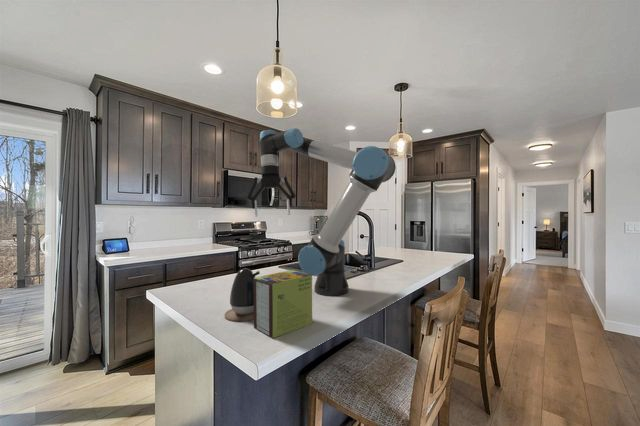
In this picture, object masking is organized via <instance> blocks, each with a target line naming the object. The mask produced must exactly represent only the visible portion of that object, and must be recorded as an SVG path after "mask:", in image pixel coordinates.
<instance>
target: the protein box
mask: <svg viewBox="0 0 640 426" xmlns="http://www.w3.org/2000/svg"><path fill="white" fill-rule="evenodd" d="M253 284H254V320H253V328H254V329H255V330H257V331H258V332H260V333H262V334H264V335H266V336H267V337H268V338H271V339H275V338H278V337H281V336H283V335H286V334H288V333H290V332H294V331H296V330H299V329H301V328H303V327H305V326H309V325H312V323H313V275H311V274H306V273H305V272H301V271H298V270H293V269H289V270H285V271H281V272H275V273H274V272H273V273H270V274H265V275H260V276H257V277H256V276H255V278H253Z"/></svg>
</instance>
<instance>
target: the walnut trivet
mask: <svg viewBox="0 0 640 426" xmlns="http://www.w3.org/2000/svg"><path fill="white" fill-rule="evenodd" d="M224 319H225V320H227V321H230V322H236V323H237V322H238V323H242V322H243V323H244V322H250V321H254V312H253V313H251V314H248V315H240V314H237V313H235V312H234V311H233V309H232V308H231V309H228V310H227V311H225V313H224Z"/></svg>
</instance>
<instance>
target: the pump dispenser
mask: <svg viewBox="0 0 640 426" xmlns="http://www.w3.org/2000/svg"><path fill="white" fill-rule="evenodd" d="M260 274H261V272H260V271H259V270H257V271H254V272H253V271H252V270H251V269H250V268H247V267H244V268H241V269H240V270H238V271H237V273H236V275H235V277H234V279H233V283H232V286H231V288H230V295H229V304H230V307H231V309H233V311H234V312H235V313H237V314H240V315H248V314H251V313H253V312H254V284H253V278H255V277H256V276H258V275H260Z"/></svg>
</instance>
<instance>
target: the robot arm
mask: <svg viewBox="0 0 640 426" xmlns="http://www.w3.org/2000/svg"><path fill="white" fill-rule="evenodd" d="M259 148H260V166H261V168H260V169H261V177H259V178H258V177H254V181H253V182H254V183H253V184H252V186H251V188H250V191H249V192H248V195H247V197H246V199H247V201H251V208H252V209H254V211H255V212H254V213H255V218H256V217H258V205H257V204H258V203H257V200H256V199H257V198H258V197H259V196H260V195H261V193H262V192H263V191H264V190H265V189H275V188H277V190H279V191H280V192H281V193H282V194H283V196H285V197H286V198H287V199H286V208H287V210H286V211H287V216H290V215H291V209H290V208H291V207H292V206H293V199H295V198H296V197H297V196H296V193H295V192H294V191H293V189H292V187H291V185H290V184H289V182H288V178H287V176H284V177H281V176H280V167H279V163H280V162H279V153H280V152H284V151H292V152H294V153H298V154H300V155H302V156H306V157H310V158H313V159H316V160H320V161H323V162H326V163H329V164H332V165H336V166H338V167H342V168H345V169H348V170H351V171H350V173H349V174H348V176H349V182H348V185H347V186H346V188H345V190H344V191H343V193H342V194H341V196H340V198H339V199H338V200H337V203H336V204H335V206H334V208H333V210H332V211H331V213H330V215H329V217H328V218H327V220H326V221H325V223H324V225H323V227H322V229H320V232H319V233H317V234H314V235H313V236H312V238H311V239H310V241H309V243H308V245H305V246H303V247H302V248H301V249H300V250H299V252H298V257H297V260H298V264H299V267H300V269H301V270H302V271H303V273H306V274H311V275H312V276H317V277H316V280H315V283H314V285H313V286H314V290H313V291H314V292H315V293H316V294H318V295H322V296H333V297H334V296H343V295H345V294H348V293H349V289H350V288H349V283H348V280H347V277H346V274H345V273H346V272H345V271H346V270H345V263H346V262H345V261H346V258H345V257H346V255H345V251H346V250H345V249H346V246H345V240H343V238H344V236H345V235H346V233H347V231H348V230H349V228H350V227H351V225H352V224H353V222H354V220H355V218H356V217H357V216H358V214H359V212H360V211H361V209H362V207H363V206H364V204H365V203H366V201H367V199H368V197H369V196H370V194H371V193H376V192H377V191H378V190H379V188H380V186H381V185H382V183H386V182H388V181H389V180H391V179H392V178H393V176H394V175H395V172H396V161H395V160H394V158H393V157H392V155H390V154H389V153H388V152H387V151H386V150H384V149H383V148H381V147H378V146H374V145H373V146H372V145H370V146H364V147H363V148H361V149H359V151H355V150H351V149H347V148H344V147H339V146H338V145H337V146H336V145H332V144H329V143H325V142H322V141H317V140H314V139H311V138H306V137H304V136H303V133H302V132H301V130H300V129H299V128H297V127H296V128H289V129H287V130H284V131H280V132H278V133H277V132H276V131H275V130H272V129H268V130H267V129H265V130H262V131H261V132H260V134H259ZM260 182H261V186H260V187H259V189H258V190H257V191H256V192H255V189H256V187H257V186H258V184H259V183H260ZM280 182H282V183H283V184H284V185H285V187H286V189H287V190H285V188H284V187H282V185H281V184H280ZM287 191H288V192H287ZM254 192H255V194H254ZM253 194H254V195H253Z"/></svg>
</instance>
